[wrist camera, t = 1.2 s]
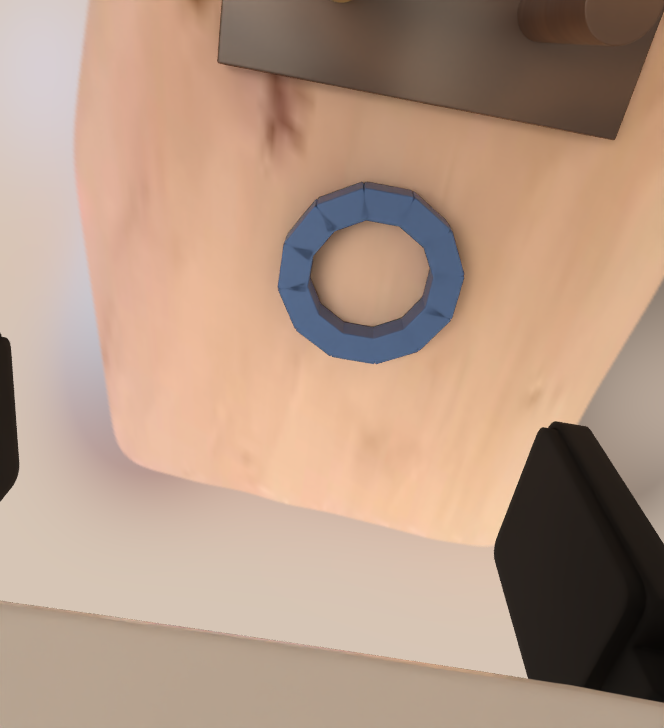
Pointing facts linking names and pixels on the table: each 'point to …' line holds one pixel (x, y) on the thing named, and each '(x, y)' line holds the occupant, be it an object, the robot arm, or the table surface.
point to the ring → (380, 208)
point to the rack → (458, 52)
